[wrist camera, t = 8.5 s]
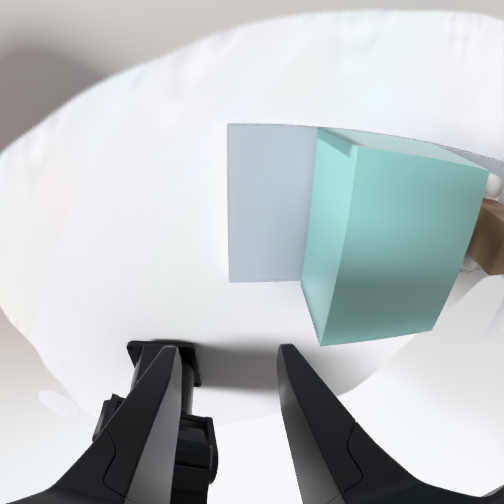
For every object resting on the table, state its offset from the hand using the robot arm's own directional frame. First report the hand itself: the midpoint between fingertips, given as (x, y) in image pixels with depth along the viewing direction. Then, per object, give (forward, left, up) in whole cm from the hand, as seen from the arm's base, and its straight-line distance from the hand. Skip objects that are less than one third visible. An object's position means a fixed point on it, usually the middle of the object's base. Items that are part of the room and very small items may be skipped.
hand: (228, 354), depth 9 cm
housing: (0, -9, -11) cm, 14 cm away
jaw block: (0, -20, -11) cm, 23 cm away
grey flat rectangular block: (0, -12, -12) cm, 17 cm away
